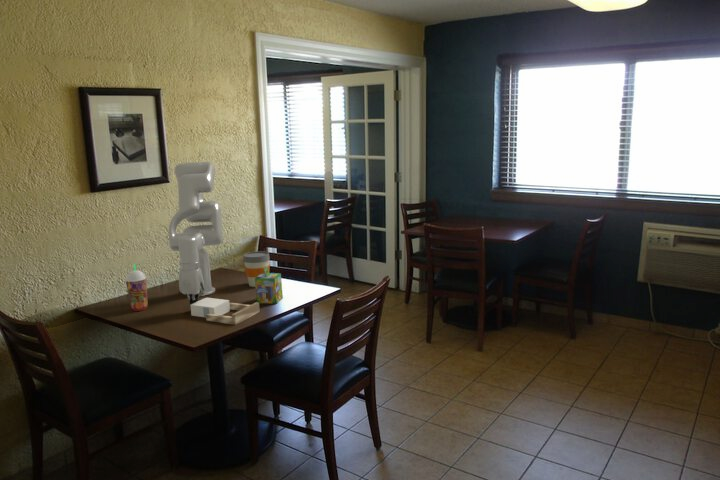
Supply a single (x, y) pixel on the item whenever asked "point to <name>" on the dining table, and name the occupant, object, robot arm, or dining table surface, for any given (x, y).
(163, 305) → the dining table surface
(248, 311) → the open wooden frame
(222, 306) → the carton
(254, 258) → the reusable coffee cup
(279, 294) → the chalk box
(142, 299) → the smoothie
